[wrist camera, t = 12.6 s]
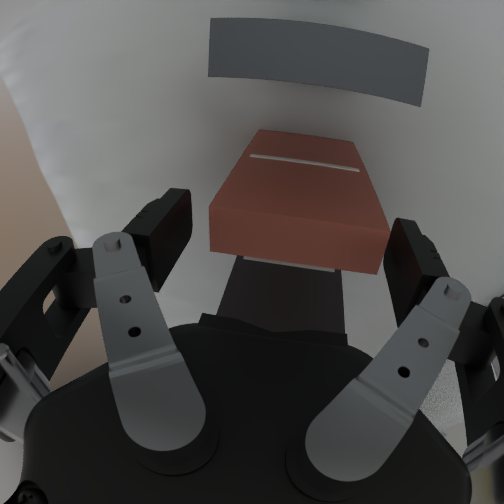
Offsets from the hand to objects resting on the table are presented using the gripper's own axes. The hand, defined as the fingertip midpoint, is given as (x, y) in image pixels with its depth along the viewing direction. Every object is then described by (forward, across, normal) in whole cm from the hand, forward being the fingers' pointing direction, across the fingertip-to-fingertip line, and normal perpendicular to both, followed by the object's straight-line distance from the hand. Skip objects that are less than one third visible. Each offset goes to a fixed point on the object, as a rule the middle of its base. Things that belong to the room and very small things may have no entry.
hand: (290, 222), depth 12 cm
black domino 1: (+9, 0, -6) cm, 11 cm away
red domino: (+9, 0, 0) cm, 9 cm away
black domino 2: (+9, 0, +6) cm, 11 cm away
